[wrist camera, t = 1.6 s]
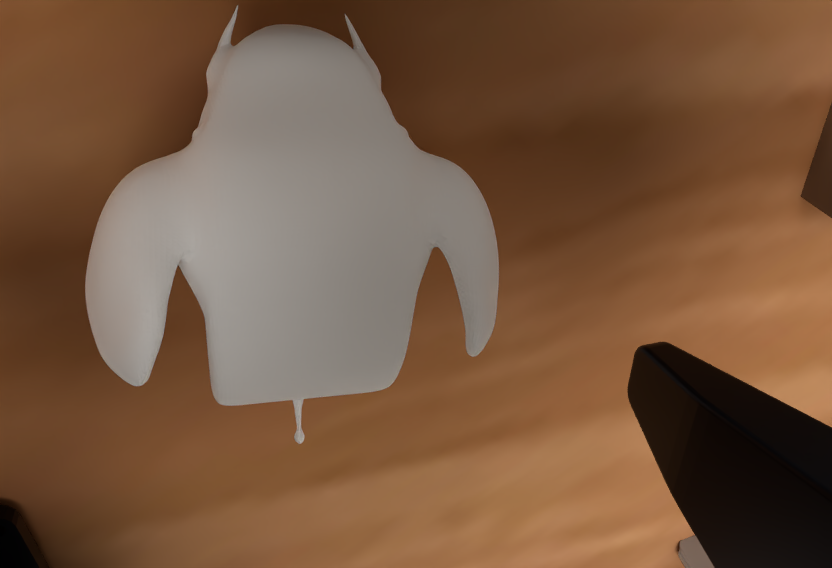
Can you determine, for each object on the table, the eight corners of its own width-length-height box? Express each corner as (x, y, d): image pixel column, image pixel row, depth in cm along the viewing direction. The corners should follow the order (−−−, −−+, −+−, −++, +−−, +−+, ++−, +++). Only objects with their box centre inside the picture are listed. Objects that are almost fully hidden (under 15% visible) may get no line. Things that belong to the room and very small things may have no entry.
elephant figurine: (458, -12, 14) (596, 100, 9) (415, 319, 18) (494, 508, 14) (75, -32, 12) (3, 93, 7) (131, 340, 16) (108, 566, 12)
